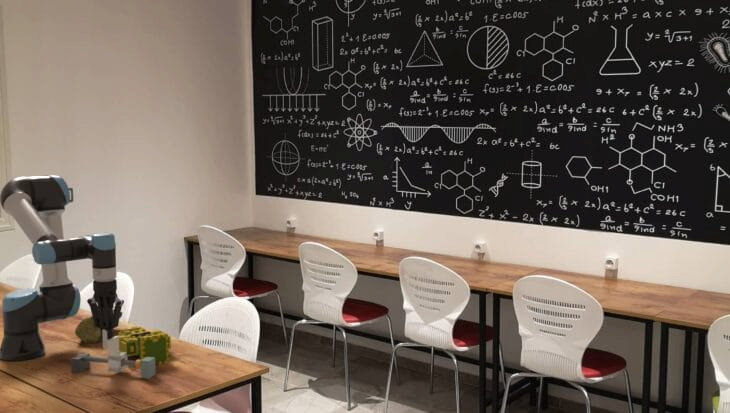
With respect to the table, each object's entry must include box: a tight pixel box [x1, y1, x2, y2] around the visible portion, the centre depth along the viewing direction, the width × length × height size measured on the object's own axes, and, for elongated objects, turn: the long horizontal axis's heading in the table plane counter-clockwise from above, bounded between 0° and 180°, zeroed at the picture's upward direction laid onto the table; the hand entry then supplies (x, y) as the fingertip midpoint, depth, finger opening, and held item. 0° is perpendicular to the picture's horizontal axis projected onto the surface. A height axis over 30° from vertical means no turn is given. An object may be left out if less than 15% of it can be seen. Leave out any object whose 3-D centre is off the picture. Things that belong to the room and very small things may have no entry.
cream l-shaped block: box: [107, 335, 129, 373], centre depth 251 cm, size 4×5×11 cm
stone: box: [74, 309, 123, 344], centre depth 294 cm, size 15×12×25 cm
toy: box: [117, 326, 172, 365], centre depth 272 cm, size 17×10×30 cm
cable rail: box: [70, 352, 156, 380], centre depth 251 cm, size 29×6×6 cm, turn 75°
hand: (107, 347), depth 251 cm, fingers closed
